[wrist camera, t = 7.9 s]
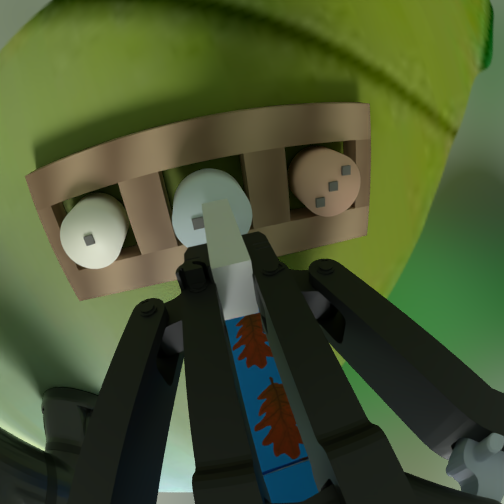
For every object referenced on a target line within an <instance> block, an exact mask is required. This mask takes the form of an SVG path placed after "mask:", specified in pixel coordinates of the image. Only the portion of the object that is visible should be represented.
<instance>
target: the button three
mask: <svg viewBox="0 0 504 504" xmlns="http://www.w3.org/2000/svg"><path fill="white" fill-rule="evenodd" d="M360 183H361V178H360V172H359V169H358V167H357V165H356V164H355V162H354V161H353V160H352V159H351V158H349V157H348V156H346V155H344V154H341V153H339V152H337V151H334V150H332V149H329V148H327V147H324V146H310V147H307V148H305V149H303V150H302V151H300V152H299V153H298V154H297V155H296V156H295V157H294V158H293V160H292V162H291V163H290V166H289V169H288V184H289V187H290V190H291V191H292V193H293V194H294V195H295V196H296V197H297V198H298V199H299V200H300V201H301V202H302V203H303V204H304V205H305V206H306V207H307V208H308V209H310V210H311V211H312V212H313V213H315V214H317V215H319V216H324V217H331V216H335V215H338V214H340V213H342V212H344V211H345V210H347V209H348V208H349V207H350V206H351V205H352V204H353V202H354V201H355V199H356V197H357V195H358V193H359V190H360Z"/></svg>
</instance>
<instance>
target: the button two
mask: <svg viewBox="0 0 504 504" xmlns="http://www.w3.org/2000/svg"><path fill="white" fill-rule="evenodd" d="M222 199H228V202H229V204H230V207H231V210H232V212H233V215H234V217H235V220H236V223H237V225H238V228H239V230H240V233H241V235H243V234H247V233H248V231H249V229H250V226H251V223H252V208H251V205H250V202H249V200H248V198H247V196H246V195H245V193H244V192H243V190H242V188H241V187H240V185H239V184H238V182H237V181H236V180H235V179H234V178H233V177H232V176H231V175H230V174H228V173H226V172H224V171H222V170H218V169H212V168H210V169H201V170H198V171H195V172H193V173H191V174H189V175H188V176H187V177H185V178H184V179H183V180H182V182H181V183H180V184H179V186H178V187H177V189H176V192H175V195H174V202H173V213H172V225H173V229H174V232H175V234H176V236H177V238H178V239H179V240H180V242H181V243H182V244H183V245H185V246H186V247H187V248H188V247H192V246H196V245H201V244H205V243H207V240H206V233H205V226H204V219H203V211H202V204H203V203H208V202H212V201H217V200H222Z"/></svg>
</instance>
